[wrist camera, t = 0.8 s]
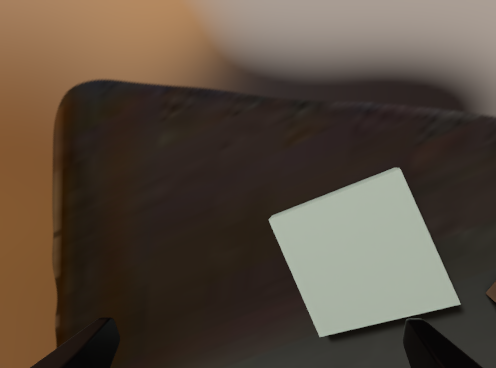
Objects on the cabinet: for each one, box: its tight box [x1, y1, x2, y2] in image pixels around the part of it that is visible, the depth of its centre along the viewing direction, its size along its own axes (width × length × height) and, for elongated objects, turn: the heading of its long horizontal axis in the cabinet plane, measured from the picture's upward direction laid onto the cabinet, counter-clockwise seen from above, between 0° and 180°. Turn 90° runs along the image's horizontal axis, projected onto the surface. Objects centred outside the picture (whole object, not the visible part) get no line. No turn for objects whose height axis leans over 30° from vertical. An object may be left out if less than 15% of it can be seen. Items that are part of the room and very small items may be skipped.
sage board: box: [269, 168, 461, 337], centre depth 21 cm, size 10×10×2 cm
